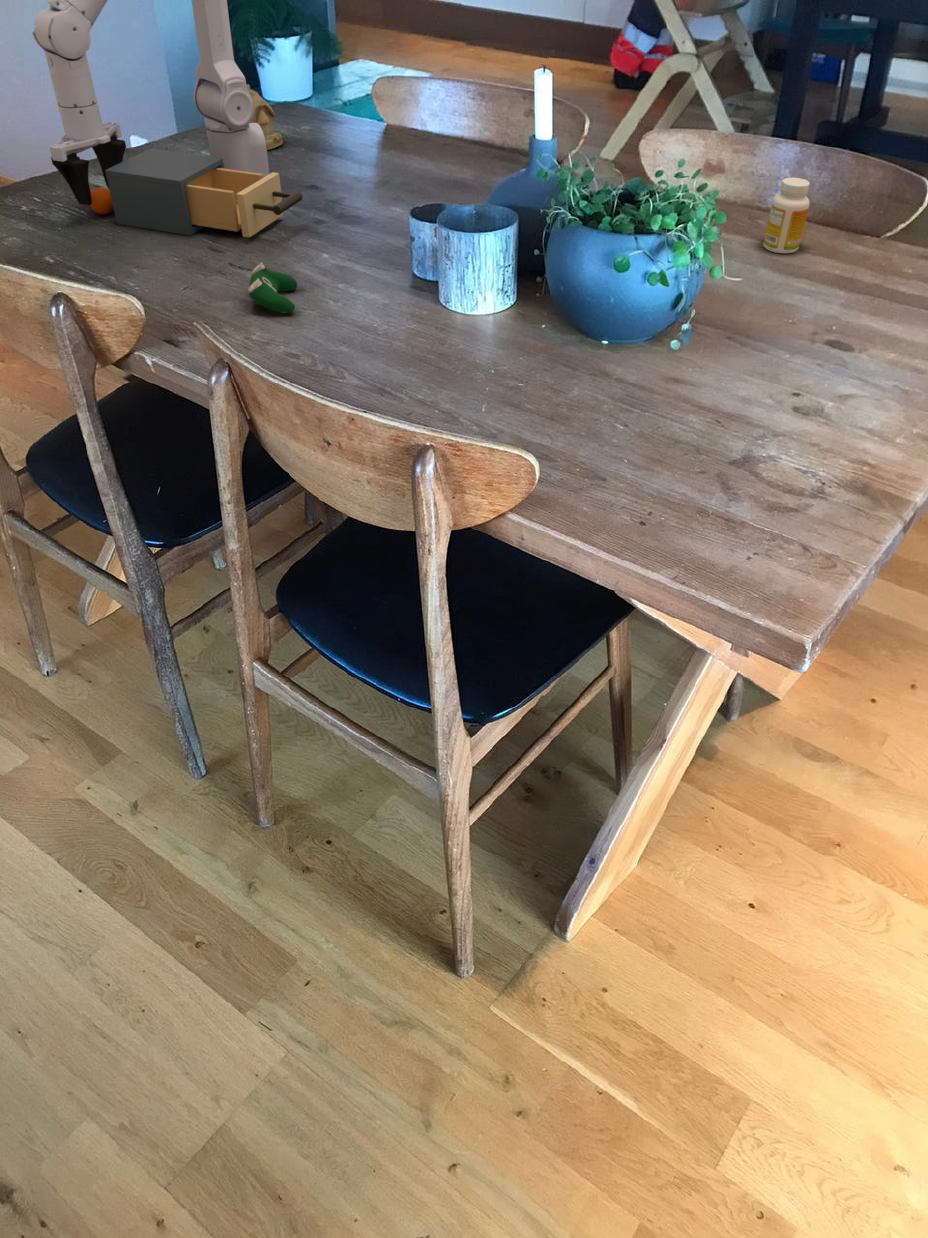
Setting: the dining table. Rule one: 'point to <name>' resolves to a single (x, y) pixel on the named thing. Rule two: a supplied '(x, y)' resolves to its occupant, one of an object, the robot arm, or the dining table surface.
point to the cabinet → (157, 189)
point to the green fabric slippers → (271, 289)
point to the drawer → (237, 200)
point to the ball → (101, 201)
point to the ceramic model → (264, 120)
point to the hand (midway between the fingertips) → (100, 196)
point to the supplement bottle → (787, 216)
